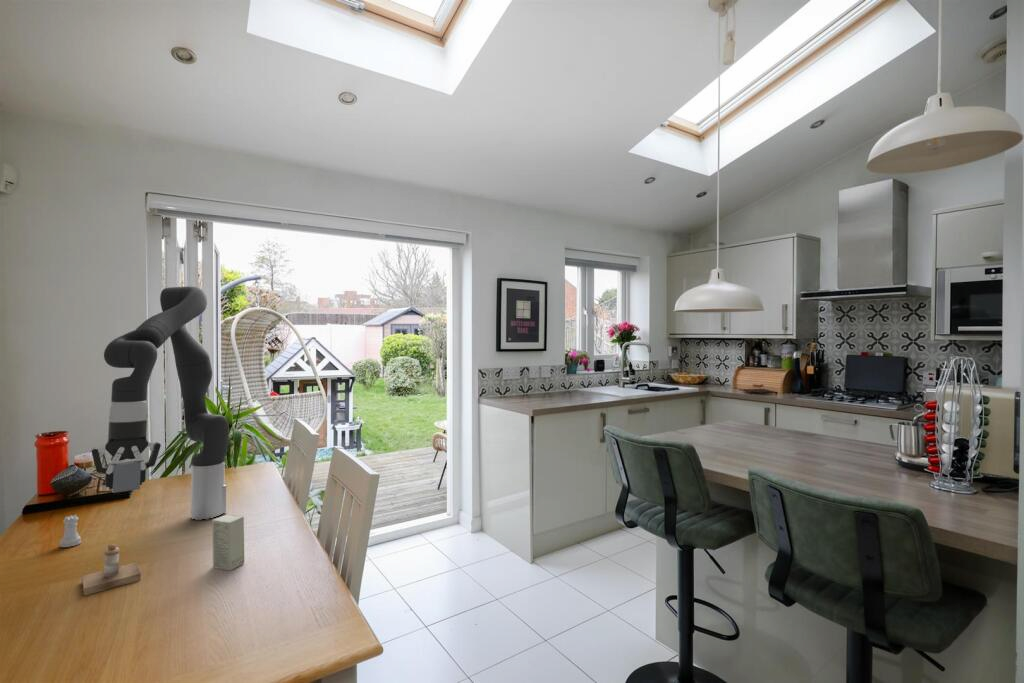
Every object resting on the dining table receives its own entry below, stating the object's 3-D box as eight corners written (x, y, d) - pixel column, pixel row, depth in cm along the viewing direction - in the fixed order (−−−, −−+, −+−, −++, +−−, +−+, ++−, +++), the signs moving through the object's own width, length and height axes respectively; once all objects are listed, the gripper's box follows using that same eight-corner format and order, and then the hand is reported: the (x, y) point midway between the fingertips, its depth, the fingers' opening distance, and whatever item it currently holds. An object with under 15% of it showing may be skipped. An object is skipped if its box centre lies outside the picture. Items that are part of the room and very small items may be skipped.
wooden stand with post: (135, 568, 118) (136, 534, 118) (140, 580, 113) (141, 544, 113) (81, 582, 111) (82, 546, 111) (84, 595, 105) (84, 557, 106)
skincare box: (244, 563, 121) (245, 516, 122) (229, 571, 117) (230, 522, 117) (226, 559, 123) (227, 513, 124) (210, 567, 119) (211, 519, 119)
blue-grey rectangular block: (137, 484, 123) (138, 459, 123) (139, 489, 119) (140, 462, 119) (111, 488, 119) (112, 462, 119) (112, 492, 115) (114, 465, 115)
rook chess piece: (67, 549, 129) (68, 520, 129) (55, 547, 130) (55, 518, 130) (85, 542, 133) (86, 514, 133) (73, 541, 134) (73, 513, 134)
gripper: (161, 415, 127) (158, 479, 127) (89, 419, 117) (86, 488, 117) (165, 418, 122) (162, 484, 121) (91, 422, 112) (87, 495, 111)
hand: (125, 486), depth 119 cm, fingers closed on blue-grey rectangular block, 5 cm apart
